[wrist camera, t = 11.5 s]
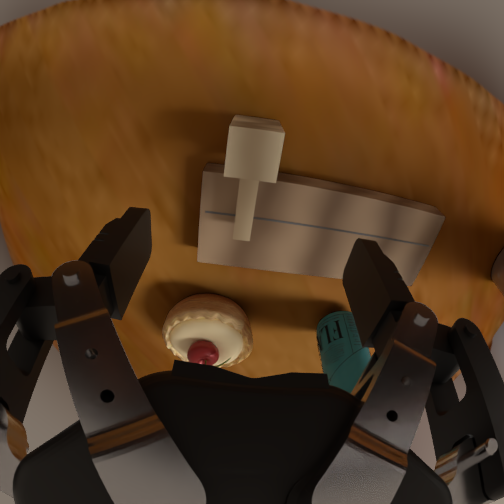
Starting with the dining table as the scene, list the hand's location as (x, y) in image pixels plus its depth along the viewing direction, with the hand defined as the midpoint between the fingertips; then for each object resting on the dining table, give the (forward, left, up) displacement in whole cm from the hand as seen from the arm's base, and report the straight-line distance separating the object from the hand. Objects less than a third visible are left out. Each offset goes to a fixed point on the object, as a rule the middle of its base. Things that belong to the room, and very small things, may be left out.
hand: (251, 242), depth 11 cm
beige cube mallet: (0, +3, -18) cm, 18 cm away
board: (-9, +8, -18) cm, 21 cm away
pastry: (+2, +24, -18) cm, 30 cm away
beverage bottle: (-15, +22, -18) cm, 32 cm away
